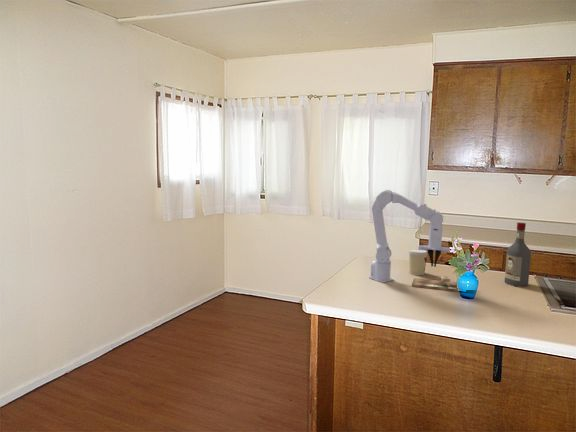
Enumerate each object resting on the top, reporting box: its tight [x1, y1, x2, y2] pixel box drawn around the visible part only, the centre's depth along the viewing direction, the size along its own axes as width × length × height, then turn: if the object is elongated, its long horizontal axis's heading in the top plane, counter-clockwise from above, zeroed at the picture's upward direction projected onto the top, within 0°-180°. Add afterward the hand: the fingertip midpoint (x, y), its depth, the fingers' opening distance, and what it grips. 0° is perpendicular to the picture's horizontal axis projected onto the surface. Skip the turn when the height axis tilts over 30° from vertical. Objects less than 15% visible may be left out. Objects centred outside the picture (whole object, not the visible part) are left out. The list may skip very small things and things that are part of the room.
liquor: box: [504, 222, 532, 287], centre depth 211 cm, size 9×9×30 cm
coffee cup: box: [408, 248, 428, 276], centre depth 230 cm, size 9×9×12 cm
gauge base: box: [411, 277, 459, 293], centre depth 207 cm, size 24×12×5 cm, turn 69°
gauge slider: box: [440, 275, 451, 286], centre depth 205 cm, size 4×8×3 cm, turn 159°
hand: (433, 266), depth 207 cm, fingers closed
